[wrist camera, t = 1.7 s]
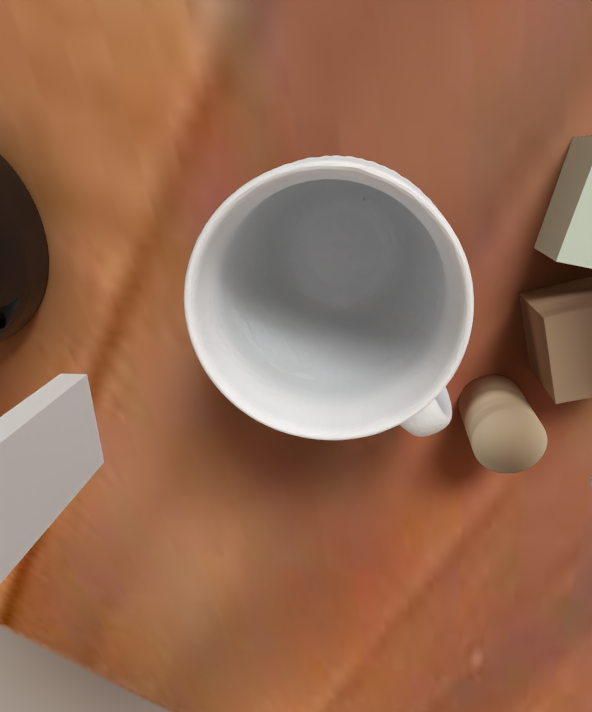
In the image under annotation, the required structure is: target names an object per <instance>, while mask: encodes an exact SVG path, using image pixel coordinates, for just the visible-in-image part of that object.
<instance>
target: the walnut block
mask: <svg viewBox="0 0 592 712" xmlns="http://www.w3.org/2000/svg"><path fill="white" fill-rule="evenodd" d="M518 294H519V301H520V307H521V314H522V320H523V327H524V333H525V340H526V346H527V353H528V359H529V366H530V369H531V371H532V372H533V374H534V375H535V376H536V378H537V379H538V380H539V382H540V383H541V384H542V386H543V387H544V389H545V390H546V391H547V393H548V394H549V395H550V397H551V398H552V400H553V401H554V402H555V404H559V403H564V402H570V401H575V400H580V399H586V398H591V397H592V276H590V277H586V278H581V279H577V280H573V281H569V282H564V283H560V284H556V285H551V286H547V287H543V288H539V289H534V290H530V291H526V292H521V293H518Z"/></svg>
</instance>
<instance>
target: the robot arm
mask: <svg viewBox="0 0 592 712" xmlns="http://www.w3.org/2000/svg"><path fill="white" fill-rule="evenodd" d="M47 277H48V248H47V241H46V236H45V232H44V228H43V224H42V221H41V218H40V216H39V213H38V210H37V208H36V206H35V204H34V201H33V199H32V198H31V196H30V194H29V192H28V190H27V189H26V187H25V185H24V184H23V182H22V181H21V179H20V178H19V176H18V175H17V174H16V172H15V171H14V170H13V168H12V167H11V166H10V165H9V164H8V163H7V161H6V160H5V159H4V158H3V157H2V156H1V155H0V341H2V340H4V339H6V338H8V337H10V336H11V335H13V334H15V333H16V332H17V331H19V330H20V329H21V328H22V327H23V326H24V325H26V323H27V322H28V321H29V320H30V319H31V318H32V316H33V315H34V313H35V312H36V310H37V308H38V306H39V304H40V302H41V300H42V297H43V295H44V291H45V288H46V283H47ZM103 463H104V459H103V454H102V448H101V443H100V438H99V433H98V428H97V423H96V418H95V413H94V407H93V402H92V397H91V392H90V387H89V382H88V377H87V374H59V375H58V376H57V377H55V378H54V379H53V380H51V381H50V382H48V383H47V384H46V385H44V386H43V387H41V388H40V389H39V390H37V391H36V392H35V393H33V394H32V395H30V396H29V397H28V398H26V399H25V400H23V401H22V402H21V403H19V404H18V405H17V406H15V407H14V408H12V409H11V410H10V411H8V412H7V413H5V414H4V415H3V416H1V417H0V584H1V583H2V581H3V580H4V579H5V578H6V577H7V575H8V574H9V573H10V572H11V571H12V570H13V568H14V567H15V566H16V565H17V564H18V563H19V561H20V560H21V559H22V558H23V557H24V556H25V554H26V553H27V552H28V551H29V550H30V548H31V547H32V546H33V545H34V544H35V543H36V541H37V540H38V539H39V538H40V537H41V536H42V534H43V533H44V532H45V531H46V530H47V529H48V527H49V526H50V525H51V524H52V523H53V522H54V520H55V519H56V518H57V517H58V516H59V514H60V513H61V512H62V511H63V510H64V509H65V507H66V506H67V505H68V504H69V503H70V502H71V500H72V499H73V498H74V497H75V496H76V495H77V493H78V492H79V491H80V490H81V489H82V488H83V486H84V485H85V484H86V483H87V482H88V480H89V479H90V478H91V477H92V476H93V475H94V473H95V472H96V471H97V470H98V469H99V468H100V466H101V465H102V464H103ZM590 486H591V487H592V477H591V482H590Z"/></svg>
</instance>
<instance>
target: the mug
mask: <svg viewBox="0 0 592 712" xmlns="http://www.w3.org/2000/svg"><path fill="white" fill-rule="evenodd" d="M184 311H185V319H186V325H187V330H188V333H189V337H190V340H191V343H192V346H193V348H194V351H195V353H196V355H197V357H198V359H199V361H200V363H201V365H202V367H203V368H204V370H205V372H206V373H207V375H208V376H209V378H210V379H211V380H212V382H213V383H214V384H215V386H216V387H217V388H218V389H219V390H220V392H221V393H222V394H223V395H224V396H225V397H226V398H227V399H228V400H229V401H230V402H232V403H233V404H234V405H235V406H236V407H237V408H238V409H240V410H241V411H243V412H244V413H245V414H247V415H248V416H250V417H251V418H253V419H255V420H256V421H258V422H260V423H262V424H264V425H266V426H268V427H270V428H273V429H275V430H278V431H281V432H284V433H287V434H290V435H295V436H299V437H303V438H309V439H318V440H348V439H356V438H362V437H367V436H371V435H374V434H378V433H380V432H383V431H386V430H388V429H391V428H393V427H395V426H398V425H400V426H401V427H403V428H404V429H405V430H407V431H408V432H410V433H411V434H413V435H415V436H419V437H425V436H429V435H432V434H435V433H437V432H439V431H440V430H442V429H444V428H445V427H446V426H447V425H448V424H449V423H450V421H451V419H452V407H451V402H450V398H449V395H448V392H447V389H446V385H447V384H448V382H449V381H450V380H451V378H452V377H453V375H454V374H455V372H456V370H457V368H458V367H459V364H460V362H461V360H462V358H463V356H464V353H465V350H466V347H467V344H468V341H469V338H470V333H471V328H472V323H473V313H474V295H473V285H472V278H471V273H470V269H469V265H468V262H467V259H466V256H465V253H464V251H463V249H462V246H461V244H460V242H459V240H458V238H457V236H456V235H455V233H454V231H453V230H452V228H451V226H450V225H449V223H448V222H447V221H446V219H445V218H444V217H443V215H442V214H441V213H440V212H439V210H438V209H437V207H436V206H435V205H434V204H433V203H432V202H431V200H430V199H429V198H428V197H426V195H425V194H423V193H422V192H421V190H420V189H419V188H417V187H416V186H415V185H413V184H412V183H411V182H410V181H408V180H407V179H406V178H404V177H401V176H400V175H399V174H398V173H396V172H395V171H393V170H390V169H388V168H386V167H385V166H382V165H378V164H377V163H375V162H372V161H366V160H364V159H362V158H355V157H351V156H346V157H342V156H338V155H335V156H323V157H318V158H311V157H310V158H306V159H304V160H298V161H296V162H293V163H290V164H284V165H282V166H281V167H278V168H275V169H273V170H270V171H268V172H265V173H264V174H262V175H260V176H258V177H256V178H254V179H252V180H251V181H249V182H248V183H246V184H245V185H243V186H242V187H241V188H239V189H238V190H237V191H236V192H234V193H233V194H232V195H231V196H230V197H228V198H227V199H226V200H225V201H224V202H223V203H222V204H221V206H220V207H219V208H218V209H217V210H216V211H215V212H214V214H213V215H212V216H211V218H210V219H209V220H208V222H207V224H206V225H205V227H204V228H203V230H202V232H201V234H200V236H199V237H198V239H197V241H196V244H195V246H194V248H193V251H192V254H191V257H190V260H189V263H188V268H187V272H186V278H185V285H184Z"/></svg>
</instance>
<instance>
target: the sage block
mask: <svg viewBox="0 0 592 712" xmlns="http://www.w3.org/2000/svg"><path fill="white" fill-rule="evenodd" d="M534 248H535V249H536V250H538V251H540V252H541V253H543V254H544V255H546V256H548V257H549V258H551V259H553V260H554V261H556V262H561V263H566V264H571V265H576V266H581V267H586V268H591V269H592V136H574V137H573V139H572V142H571V145H570V148H569V150H568V153H567V156H566V159H565V162H564V164H563V167H562V170H561V173H560V176H559V178H558V181H557V184H556V187H555V190H554V192H553V195H552V198H551V201H550V204H549V206H548V209H547V212H546V215H545V218H544V220H543V223H542V226H541V229H540V232H539V235H538V237H537V240H536V243H535V246H534Z"/></svg>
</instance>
